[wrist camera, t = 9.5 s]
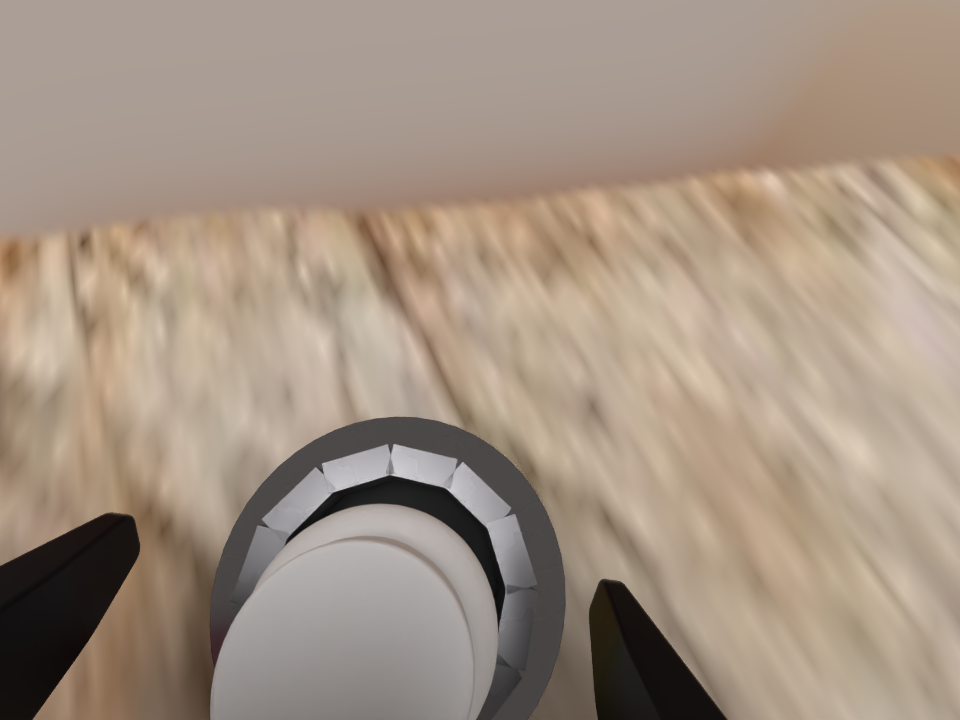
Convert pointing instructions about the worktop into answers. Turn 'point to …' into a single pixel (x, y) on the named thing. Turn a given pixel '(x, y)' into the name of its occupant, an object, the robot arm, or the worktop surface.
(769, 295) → the worktop surface
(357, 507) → the supplement bottle
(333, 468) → the collar holder
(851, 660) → the worktop surface
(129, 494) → the worktop surface
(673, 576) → the worktop surface
